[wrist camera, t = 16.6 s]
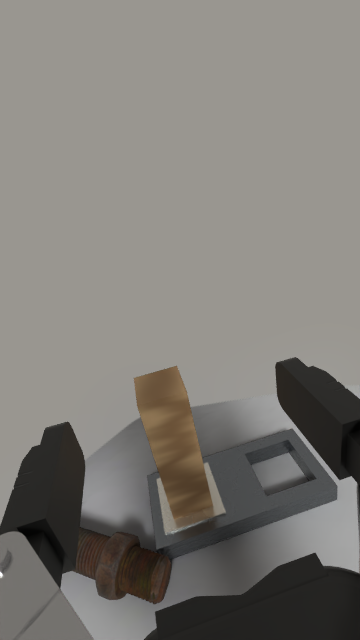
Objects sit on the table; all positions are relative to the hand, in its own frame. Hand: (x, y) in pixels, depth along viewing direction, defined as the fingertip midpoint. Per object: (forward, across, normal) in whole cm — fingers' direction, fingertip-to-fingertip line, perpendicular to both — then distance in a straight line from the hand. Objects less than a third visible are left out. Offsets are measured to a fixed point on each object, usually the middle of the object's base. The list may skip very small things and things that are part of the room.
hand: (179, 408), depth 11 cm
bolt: (+10, +10, +24) cm, 28 cm away
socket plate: (+12, -4, +23) cm, 27 cm away
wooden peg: (+12, 0, +21) cm, 25 cm away
